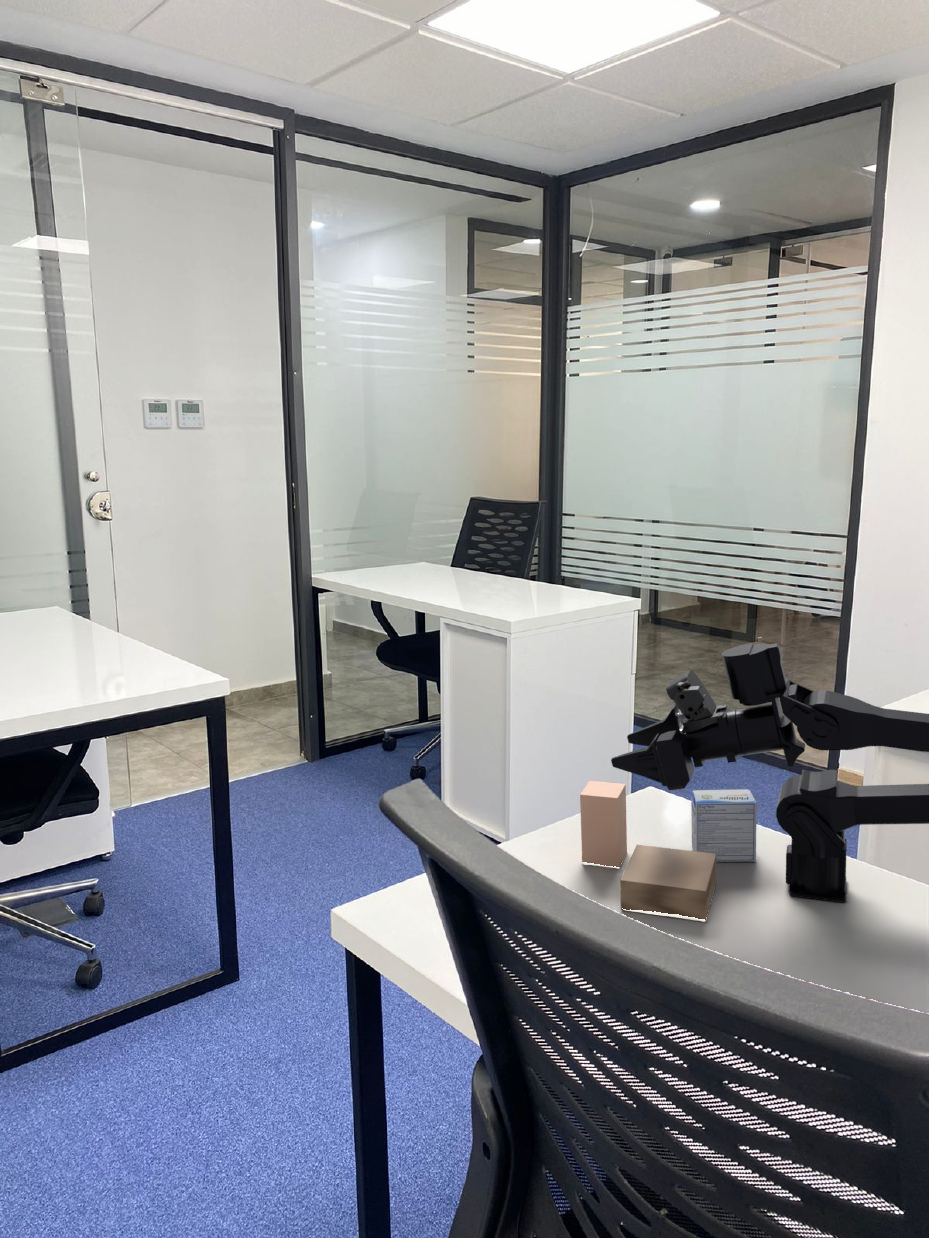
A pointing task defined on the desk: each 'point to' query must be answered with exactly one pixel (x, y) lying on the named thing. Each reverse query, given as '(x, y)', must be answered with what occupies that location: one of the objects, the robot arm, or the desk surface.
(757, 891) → the desk surface
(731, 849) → the medicine box
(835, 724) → the robot arm
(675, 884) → the walnut base
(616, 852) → the terracotta block
